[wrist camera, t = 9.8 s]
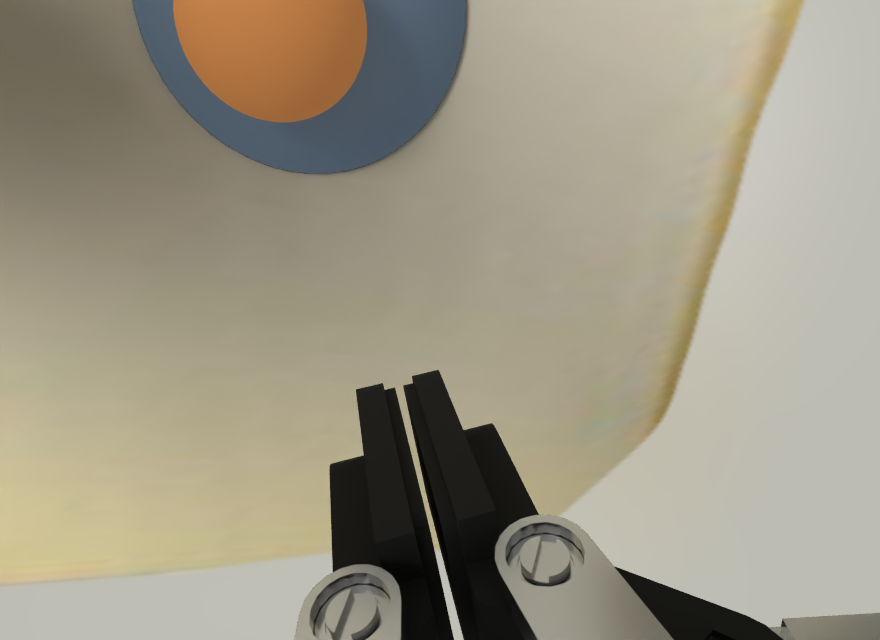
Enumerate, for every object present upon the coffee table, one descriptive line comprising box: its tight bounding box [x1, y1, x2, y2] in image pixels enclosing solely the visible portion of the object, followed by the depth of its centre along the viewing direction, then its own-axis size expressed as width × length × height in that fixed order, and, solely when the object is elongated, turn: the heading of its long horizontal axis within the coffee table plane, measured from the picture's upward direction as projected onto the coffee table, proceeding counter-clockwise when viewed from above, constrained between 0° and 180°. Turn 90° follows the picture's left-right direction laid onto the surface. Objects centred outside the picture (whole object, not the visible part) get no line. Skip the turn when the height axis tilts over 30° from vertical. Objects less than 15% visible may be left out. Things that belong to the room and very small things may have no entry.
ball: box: [173, 0, 367, 122], centre depth 18 cm, size 6×6×6 cm
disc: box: [133, 0, 466, 173], centre depth 21 cm, size 12×12×1 cm
